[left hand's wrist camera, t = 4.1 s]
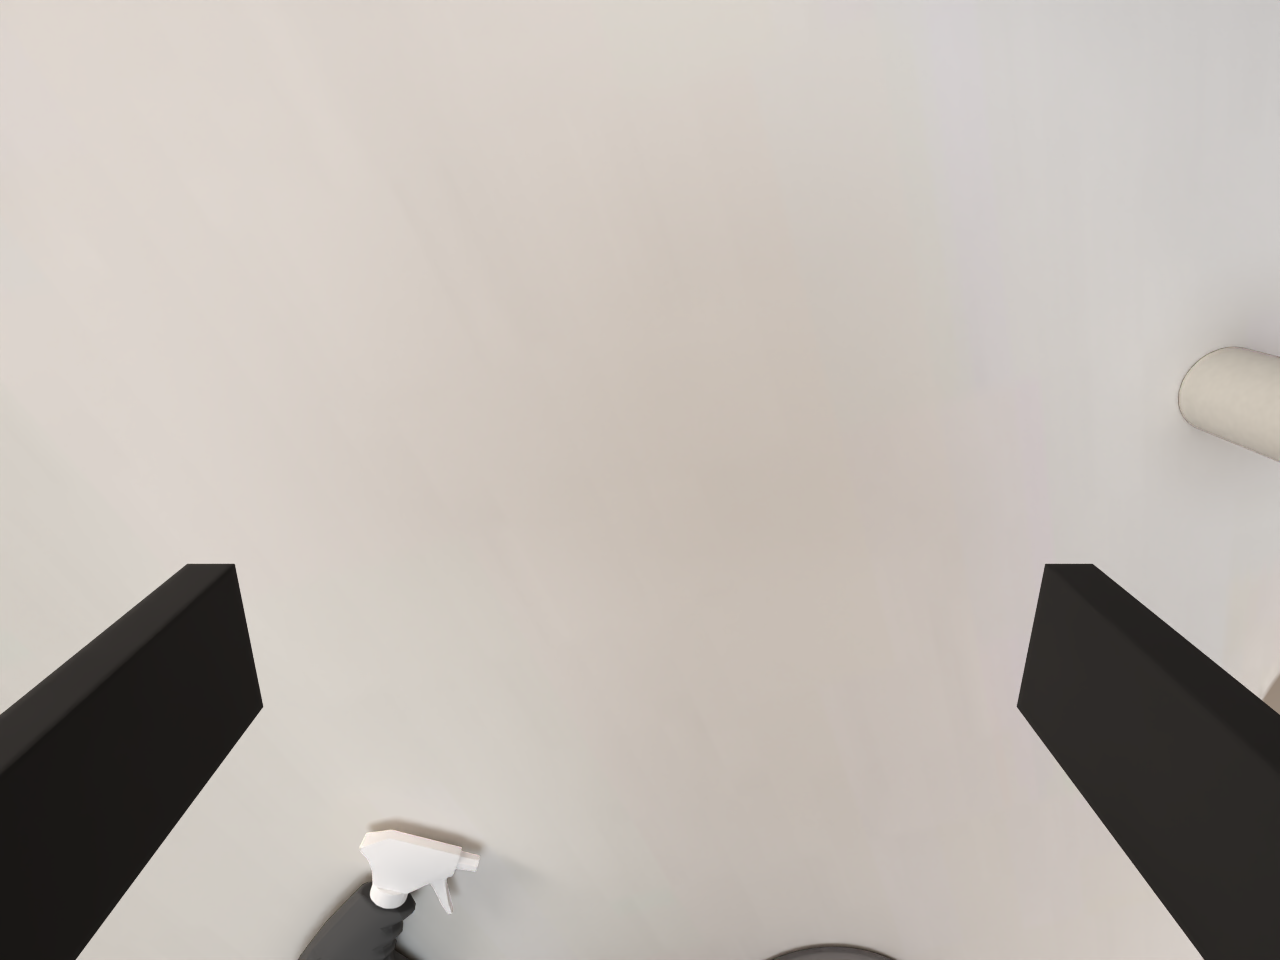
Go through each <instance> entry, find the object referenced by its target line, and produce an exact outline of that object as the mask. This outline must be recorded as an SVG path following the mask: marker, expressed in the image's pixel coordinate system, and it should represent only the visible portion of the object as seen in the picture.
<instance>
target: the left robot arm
mask: <svg viewBox="0 0 1280 960" xmlns="http://www.w3.org/2000/svg"><path fill="white" fill-rule="evenodd" d="M262 708H263V703H262V698H261V693H260V688H259V683H258V678H257V673H256V668H255V663H254V658H253V653H252V648H251V643H250V638H249V633H248V628H247V623H246V618H245V613H244V608H243V603H242V598H241V593H240V588H239V583H238V578H237V573H236V568H235V564H187V565H185V566H184V567H183V568H182V569H181V570H179V571H178V572H177V573H176V574H174V575H173V576H172V577H171V578H169V579H168V580H167V581H166V582H164V583H163V584H162V585H161V586H159V587H158V588H157V589H156V590H154V591H153V592H152V593H151V594H150V595H148V596H147V597H146V598H145V599H143V600H142V601H141V602H140V603H138V604H137V605H136V606H135V607H133V608H132V609H131V610H130V611H128V612H127V613H126V614H125V615H123V616H122V617H121V618H120V619H119V620H117V621H116V622H115V623H114V624H112V625H111V626H110V627H109V628H107V629H106V630H105V631H104V632H102V633H101V634H100V635H99V636H97V637H96V638H95V639H94V640H93V641H91V642H90V643H89V644H88V645H86V646H85V647H84V648H83V649H81V650H80V651H79V652H78V653H76V654H75V655H74V656H73V657H71V658H70V659H69V660H68V661H66V662H65V663H64V664H63V665H62V666H60V667H59V668H58V669H57V670H55V671H54V672H53V673H52V674H50V675H49V676H48V677H47V678H45V679H44V680H43V681H42V682H40V683H39V684H38V685H37V686H35V687H34V688H33V689H32V690H31V691H29V692H28V693H27V694H26V695H24V696H23V697H22V698H21V699H19V700H18V701H17V702H16V703H14V704H13V705H12V706H11V707H9V708H8V709H7V710H6V711H5V712H3V713H2V714H1V715H0V960H76V958H77V957H78V956H79V954H80V953H81V952H82V950H83V949H84V948H85V946H86V945H87V944H88V942H89V941H90V940H91V938H92V937H93V936H94V934H95V933H96V932H97V930H98V929H99V927H100V926H101V925H102V923H103V922H104V921H105V919H106V918H107V917H108V915H109V914H110V913H111V911H112V910H113V909H114V907H115V906H116V905H117V903H118V902H119V901H120V899H121V898H122V896H123V895H124V894H125V892H126V891H127V890H128V888H129V887H130V886H131V884H132V883H133V882H134V880H135V879H136V878H137V876H138V875H139V874H140V872H141V871H142V869H143V868H144V867H145V865H146V864H147V863H148V861H149V860H150V859H151V857H152V856H153V855H154V853H155V852H156V851H157V849H158V848H159V847H160V845H161V844H162V843H163V841H164V840H165V838H166V837H167V836H168V834H169V833H170V832H171V830H172V829H173V828H174V826H175V825H176V824H177V822H178V821H179V820H180V818H181V817H182V816H183V814H184V813H185V812H186V810H187V809H188V807H189V806H190V805H191V803H192V802H193V801H194V799H195V798H196V797H197V795H198V794H199V793H200V791H201V790H202V789H203V787H204V786H205V785H206V783H207V782H208V781H209V779H210V778H211V776H212V775H213V774H214V772H215V771H216V770H217V768H218V767H219V766H220V764H221V763H222V762H223V760H224V759H225V758H226V756H227V755H228V754H229V752H230V751H231V749H232V748H233V747H234V745H235V744H236V743H237V741H238V740H239V739H240V737H241V736H242V735H243V733H244V732H245V731H246V729H247V728H248V727H249V725H250V724H251V723H252V721H253V720H254V718H255V717H256V716H257V714H258V713H259V712H260V710H261V709H262ZM1017 708H1018V709H1019V710H1020V712H1021V713H1022V714H1023V716H1024V717H1025V718H1026V720H1027V721H1028V723H1029V724H1030V725H1031V727H1032V728H1033V729H1034V731H1035V732H1036V733H1037V735H1038V736H1039V737H1040V739H1041V740H1042V741H1043V743H1044V744H1045V745H1046V747H1047V748H1048V750H1049V751H1050V752H1051V754H1052V755H1053V756H1054V758H1055V759H1056V760H1057V762H1058V763H1059V764H1060V766H1061V767H1062V768H1063V770H1064V771H1065V772H1066V774H1067V775H1068V776H1069V778H1070V779H1071V781H1072V782H1073V783H1074V785H1075V786H1076V787H1077V789H1078V790H1079V791H1080V793H1081V794H1082V795H1083V797H1084V798H1085V799H1086V801H1087V802H1088V803H1089V805H1090V806H1091V807H1092V809H1093V810H1094V812H1095V813H1096V814H1097V816H1098V817H1099V818H1100V820H1101V821H1102V822H1103V824H1104V825H1105V826H1106V828H1107V829H1108V830H1109V832H1110V833H1111V834H1112V836H1113V837H1114V838H1115V840H1116V841H1117V843H1118V844H1119V845H1120V847H1121V848H1122V849H1123V851H1124V852H1125V853H1126V855H1127V856H1128V857H1129V859H1130V860H1131V861H1132V863H1133V864H1134V865H1135V867H1136V868H1137V869H1138V871H1139V872H1140V874H1141V875H1142V876H1143V878H1144V879H1145V880H1146V882H1147V883H1148V884H1149V886H1150V887H1151V888H1152V890H1153V891H1154V892H1155V894H1156V895H1157V896H1158V898H1159V899H1160V901H1161V902H1162V903H1163V905H1164V906H1165V907H1166V909H1167V910H1168V911H1169V913H1170V914H1171V915H1172V917H1173V918H1174V919H1175V921H1176V922H1177V923H1178V925H1179V926H1180V927H1181V929H1182V930H1183V932H1184V933H1185V934H1186V936H1187V937H1188V938H1189V940H1190V941H1191V942H1192V944H1193V945H1194V946H1195V948H1196V949H1197V950H1198V952H1199V953H1200V954H1201V956H1202V957H1203V958H1204V960H1280V715H1279V714H1278V713H1277V712H1275V711H1274V710H1273V709H1272V708H1270V707H1269V706H1268V705H1267V704H1266V703H1264V702H1263V701H1262V700H1261V699H1259V698H1258V697H1257V696H1256V695H1254V694H1253V693H1252V692H1251V691H1249V690H1248V689H1247V688H1246V687H1245V686H1243V685H1242V684H1241V683H1240V682H1238V681H1237V680H1236V679H1235V678H1233V677H1232V676H1231V675H1230V674H1228V673H1227V672H1226V671H1225V670H1223V669H1222V668H1221V667H1220V666H1218V665H1217V664H1216V663H1215V662H1214V661H1212V660H1211V659H1210V658H1209V657H1207V656H1206V655H1205V654H1204V653H1202V652H1201V651H1200V650H1199V649H1197V648H1196V647H1195V646H1194V645H1192V644H1191V643H1190V642H1189V641H1187V640H1186V639H1185V638H1184V637H1183V636H1181V635H1180V634H1179V633H1178V632H1176V631H1175V630H1174V629H1173V628H1171V627H1170V626H1169V625H1168V624H1166V623H1165V622H1164V621H1163V620H1161V619H1160V618H1159V617H1158V616H1157V615H1155V614H1154V613H1153V612H1152V611H1150V610H1149V609H1148V608H1147V607H1145V606H1144V605H1143V604H1142V603H1140V602H1139V601H1138V600H1137V599H1135V598H1134V597H1133V596H1132V595H1130V594H1129V593H1128V592H1127V591H1126V590H1124V589H1123V588H1122V587H1121V586H1119V585H1118V584H1117V583H1116V582H1114V581H1113V580H1112V579H1111V578H1109V577H1108V576H1107V575H1106V574H1104V573H1103V572H1102V571H1101V570H1099V569H1098V568H1097V567H1096V566H1095V565H1093V564H1045V568H1044V573H1043V578H1042V583H1041V588H1040V593H1039V598H1038V603H1037V608H1036V613H1035V618H1034V623H1033V628H1032V633H1031V638H1030V643H1029V648H1028V653H1027V658H1026V663H1025V668H1024V673H1023V678H1022V683H1021V688H1020V693H1019V698H1018V703H1017ZM773 960H891V959H889V958H887V957H885V956H882V955H879V954H877V953H873V952H870V951H866V950H861V949H856V948H847V947H820V948H811V949H806V950H801V951H797V952H793V953H789V954H786V955H783V956H780V957H778V958H776V959H773Z"/></svg>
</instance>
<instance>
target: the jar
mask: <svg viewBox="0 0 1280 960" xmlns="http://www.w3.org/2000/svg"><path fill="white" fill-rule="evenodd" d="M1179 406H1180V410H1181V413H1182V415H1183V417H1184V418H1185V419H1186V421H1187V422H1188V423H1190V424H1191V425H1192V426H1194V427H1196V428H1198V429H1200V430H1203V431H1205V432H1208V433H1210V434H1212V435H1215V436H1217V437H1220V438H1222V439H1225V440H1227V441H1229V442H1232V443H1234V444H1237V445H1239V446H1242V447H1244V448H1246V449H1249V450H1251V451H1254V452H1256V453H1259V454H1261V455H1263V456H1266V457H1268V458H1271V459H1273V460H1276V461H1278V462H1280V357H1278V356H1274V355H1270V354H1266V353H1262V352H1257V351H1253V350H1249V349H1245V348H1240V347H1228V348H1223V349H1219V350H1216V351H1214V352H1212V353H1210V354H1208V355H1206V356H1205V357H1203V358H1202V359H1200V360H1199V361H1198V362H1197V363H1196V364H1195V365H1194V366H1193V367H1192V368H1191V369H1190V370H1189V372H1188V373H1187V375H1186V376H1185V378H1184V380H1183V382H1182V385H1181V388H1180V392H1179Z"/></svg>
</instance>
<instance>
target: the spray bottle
mask: <svg viewBox="0 0 1280 960" xmlns="http://www.w3.org/2000/svg"><path fill="white" fill-rule="evenodd" d="M461 850H462V847H459V846H455V845H451V844H447V843H443V842H439V841H435V840H431V839H427V838H423V837H419V836H415V835H411V834H407V833H404V832H400V831H396V830H385V831H377V832H370V833H366V834H365V837H364V839H363V841H362V843H361V846H360V848H359V851H360V852H361V853H362V854H363V855H364V856H365V858H366V859H367V860H368V861H369V864H370V867H371V870H372V882H368V883H365V884H363V885H362V886H361V887H360V888H359V889H358V890H357V891H356V892H355V893H354V894H353V895H352V896H351V897H350V898H349V899H348V900H347V901H346V902H345V903H344V904H343V905H342V906H341V907H340V908H339V909H338V910H337V911H336V912H335V913H334V914H333V915H332V916H331V917H330V918H329V919H328V920H327V921H326V923H325V924H324V925H323V927H322V928H321V929H320V931H319V932H318V933H317V934H316V936H315V937H314V938H313V940H312V941H311V942H310V944H309V945H308V946H307V948H306V949H305V950H304V952H303V953H302V954H301V956H300V957H299V959H298V960H408V959H407V958H406V957H405V956H403V955H402V954H400V953H398V952H397V951H395V950H394V948H395V945H396V937H397V936H398V935H399V934H400V933H401V932H402V930H403V920H404V919H405V918H406V917H408V916H409V915H410V914H411V913H413V911H414V910H415V905H416V903H415V901H414V900H413V898H412V896H411V894H410V892H412V891H414V890H417V889H419V888H421V887H423V886H425V885H427V884H430V885H431V886H432V887H433V889H434V891H435V893H436V895H437V897H438V899H439V901H440V903H441V905H442V906H443V908H444V909H445V911H446V912H447V914H448V915H449V914H452V912H453V905H452V901H451V896H450V892H449V888H448V884H447V878H448V877H451V876H453V874H454V871H455V869H461V870H468V871H474V872H476V871H477V867H478V863H479V859H480V856H479V855H476V854H472V853H468V852H464V851H461Z"/></svg>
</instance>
